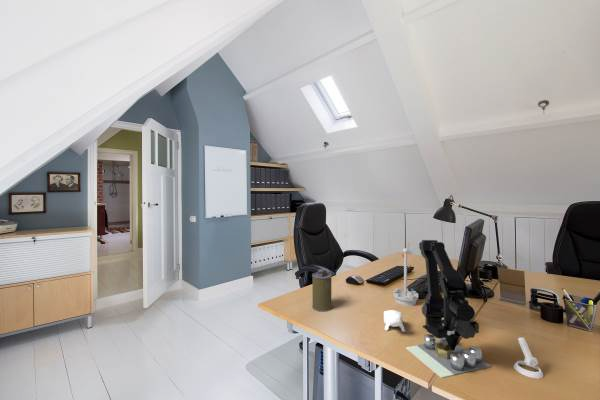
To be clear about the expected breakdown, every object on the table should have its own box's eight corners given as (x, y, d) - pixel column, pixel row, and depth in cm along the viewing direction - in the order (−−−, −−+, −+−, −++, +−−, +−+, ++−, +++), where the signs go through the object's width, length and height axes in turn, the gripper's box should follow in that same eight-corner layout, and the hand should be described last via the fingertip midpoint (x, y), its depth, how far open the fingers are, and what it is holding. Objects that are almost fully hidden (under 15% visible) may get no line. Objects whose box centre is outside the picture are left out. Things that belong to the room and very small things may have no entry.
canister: (325, 313, 137) (325, 273, 137) (308, 308, 143) (308, 270, 143) (335, 306, 146) (335, 269, 145) (319, 301, 152) (319, 266, 151)
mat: (405, 347, 106) (405, 347, 106) (449, 339, 112) (449, 339, 112) (441, 378, 89) (441, 377, 89) (491, 366, 94) (491, 365, 94)
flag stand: (422, 306, 145) (422, 250, 144) (397, 306, 145) (397, 250, 144) (412, 297, 158) (412, 245, 157) (390, 297, 158) (390, 245, 157)
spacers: (420, 344, 108) (421, 334, 108) (448, 339, 111) (448, 329, 111) (457, 372, 91) (457, 360, 91) (488, 365, 95) (488, 353, 94)
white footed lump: (382, 328, 127) (386, 331, 114) (381, 309, 130) (385, 310, 116) (401, 330, 126) (408, 333, 112) (400, 310, 129) (406, 311, 115)
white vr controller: (512, 340, 101) (531, 337, 96) (529, 379, 94) (550, 378, 89) (498, 340, 99) (517, 336, 94) (514, 379, 92) (536, 378, 87)
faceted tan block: (432, 353, 102) (432, 345, 102) (442, 349, 104) (442, 341, 104) (444, 360, 97) (444, 352, 97) (454, 356, 100) (454, 348, 100)
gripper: (449, 321, 91) (449, 367, 92) (492, 314, 96) (491, 357, 97) (425, 308, 102) (425, 349, 102) (464, 302, 107) (464, 341, 107)
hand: (452, 350), depth 102 cm, fingers closed
